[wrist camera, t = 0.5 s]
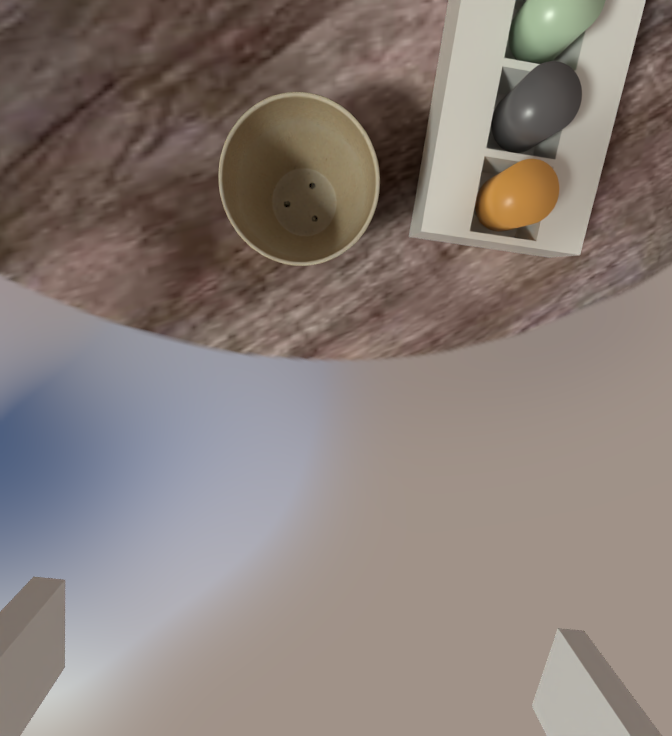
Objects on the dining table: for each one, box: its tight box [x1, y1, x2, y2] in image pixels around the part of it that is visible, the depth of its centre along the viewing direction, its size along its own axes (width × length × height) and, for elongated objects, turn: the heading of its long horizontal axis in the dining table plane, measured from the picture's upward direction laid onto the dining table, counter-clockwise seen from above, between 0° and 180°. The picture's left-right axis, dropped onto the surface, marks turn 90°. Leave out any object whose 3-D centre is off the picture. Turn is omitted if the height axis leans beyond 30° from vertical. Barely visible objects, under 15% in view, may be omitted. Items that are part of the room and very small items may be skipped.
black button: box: [491, 61, 582, 153], centre depth 27 cm, size 4×4×4 cm
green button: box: [509, 0, 606, 64], centre depth 25 cm, size 4×4×4 cm
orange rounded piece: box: [475, 159, 559, 232], centre depth 28 cm, size 4×4×4 cm
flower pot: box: [219, 92, 380, 266], centre depth 28 cm, size 10×10×7 cm
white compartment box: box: [409, 0, 646, 258], centre depth 29 cm, size 17×12×4 cm
